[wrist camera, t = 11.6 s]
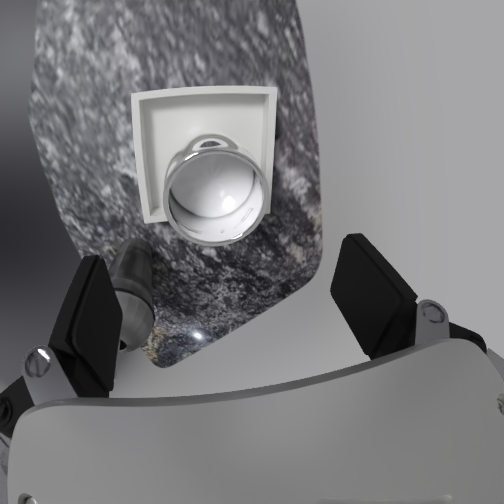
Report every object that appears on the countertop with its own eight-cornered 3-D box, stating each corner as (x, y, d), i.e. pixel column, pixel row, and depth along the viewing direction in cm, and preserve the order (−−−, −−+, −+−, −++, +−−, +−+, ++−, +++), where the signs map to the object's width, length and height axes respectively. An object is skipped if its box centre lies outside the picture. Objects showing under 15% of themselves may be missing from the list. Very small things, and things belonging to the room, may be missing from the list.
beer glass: (214, 107, 26) (234, 121, 14) (248, 156, 30) (291, 211, 18) (162, 144, 27) (136, 192, 15) (198, 189, 31) (204, 266, 19)
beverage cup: (105, 262, 34) (69, 389, 18) (120, 220, 31) (72, 351, 15) (150, 280, 37) (141, 410, 21) (170, 241, 34) (163, 378, 18)
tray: (137, 93, 23) (131, 93, 21) (269, 87, 26) (277, 87, 24) (148, 212, 32) (144, 223, 29) (263, 203, 34) (269, 213, 32)
